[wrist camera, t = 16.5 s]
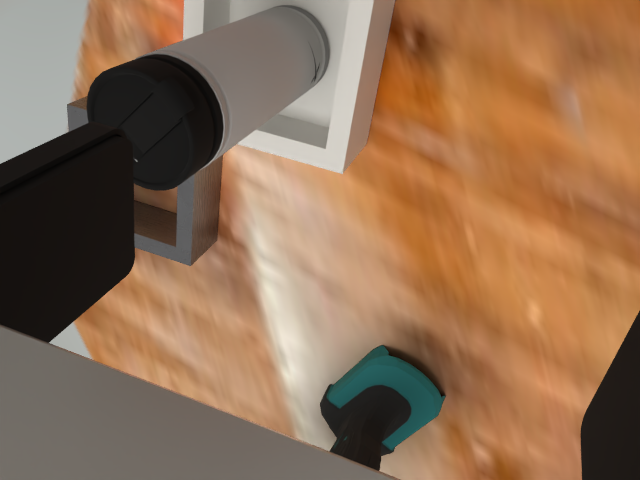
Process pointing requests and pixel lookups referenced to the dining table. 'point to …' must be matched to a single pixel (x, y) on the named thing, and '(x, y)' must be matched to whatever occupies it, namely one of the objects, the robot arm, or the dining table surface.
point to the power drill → (378, 407)
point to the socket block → (166, 227)
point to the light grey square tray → (331, 91)
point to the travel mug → (209, 91)
